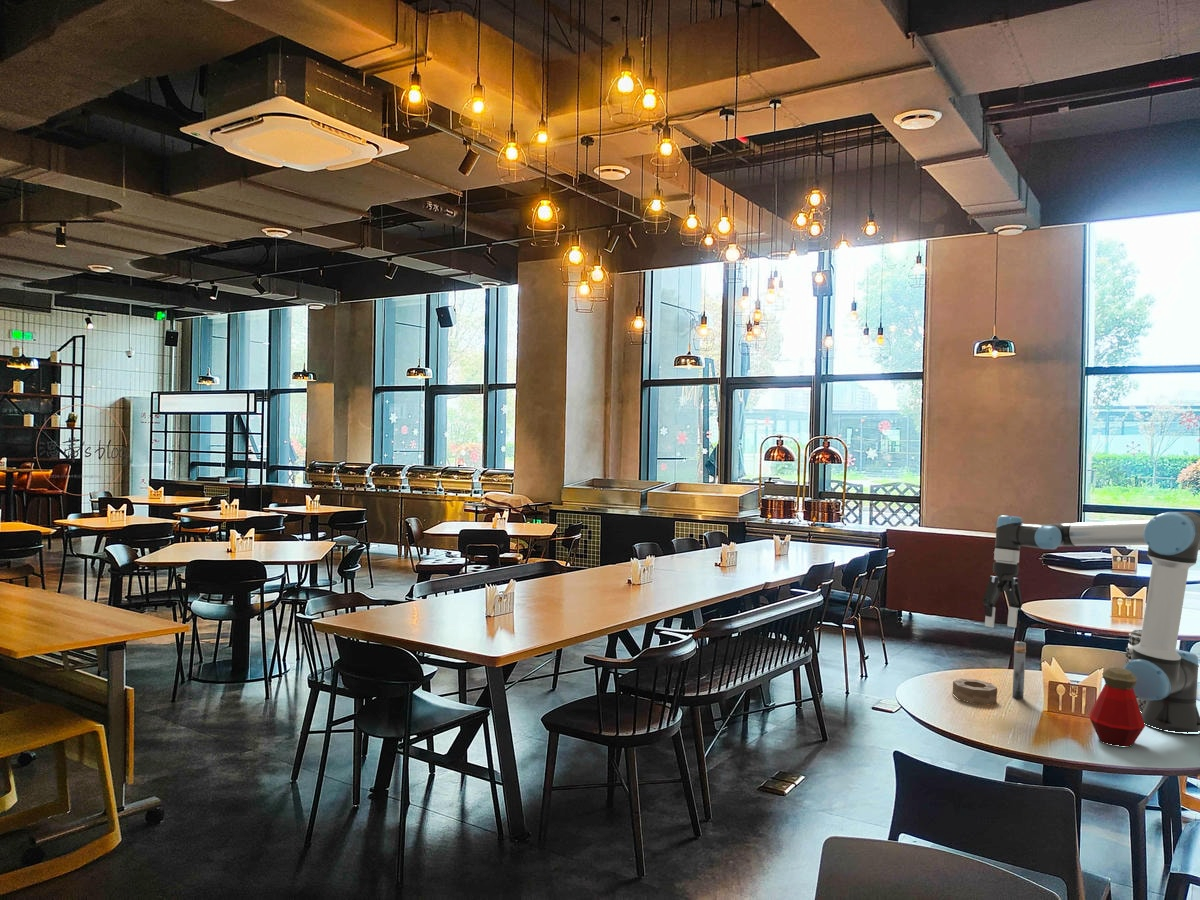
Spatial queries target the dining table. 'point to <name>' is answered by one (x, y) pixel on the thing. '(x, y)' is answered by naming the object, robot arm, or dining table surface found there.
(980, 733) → the dining table surface
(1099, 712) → the bottle
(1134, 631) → the decorative candle
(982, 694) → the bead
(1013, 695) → the copper-banded metal rod
